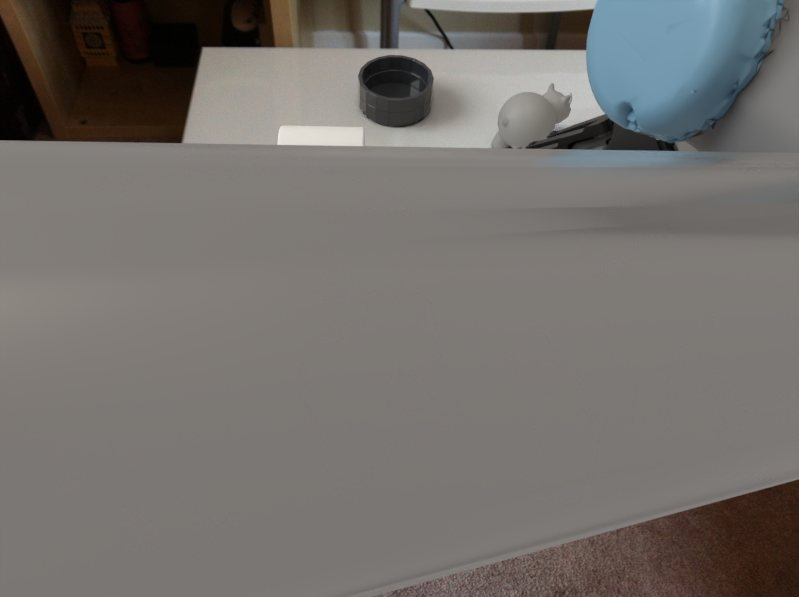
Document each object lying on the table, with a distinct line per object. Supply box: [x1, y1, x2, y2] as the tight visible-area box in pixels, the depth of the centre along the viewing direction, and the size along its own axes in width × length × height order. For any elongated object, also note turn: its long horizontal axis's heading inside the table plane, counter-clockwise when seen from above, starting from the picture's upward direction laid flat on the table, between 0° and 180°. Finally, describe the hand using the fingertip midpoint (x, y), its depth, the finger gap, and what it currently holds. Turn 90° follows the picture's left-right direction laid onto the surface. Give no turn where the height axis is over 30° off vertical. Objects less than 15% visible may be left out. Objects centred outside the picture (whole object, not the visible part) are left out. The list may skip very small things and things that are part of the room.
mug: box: [276, 124, 366, 146], centre depth 87 cm, size 12×10×8 cm
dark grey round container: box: [357, 54, 435, 128], centre depth 100 cm, size 10×10×4 cm
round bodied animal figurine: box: [490, 82, 573, 149], centre depth 95 cm, size 7×12×8 cm, turn 127°
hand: (473, 178), depth 63 cm, fingers closed
